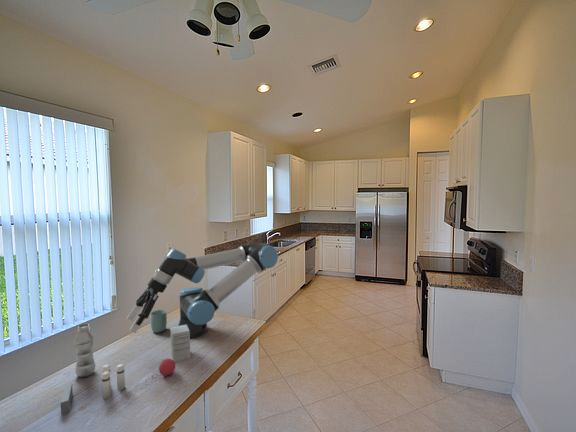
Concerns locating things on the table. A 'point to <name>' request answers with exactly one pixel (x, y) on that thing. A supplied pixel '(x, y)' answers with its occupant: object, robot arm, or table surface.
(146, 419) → the table surface
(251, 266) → the robot arm
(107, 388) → the pin
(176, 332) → the supplement box
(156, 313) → the cup
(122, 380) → the front pin
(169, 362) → the ball
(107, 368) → the pin
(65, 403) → the back wall
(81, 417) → the table surface
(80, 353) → the plastic bottle
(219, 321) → the table surface
